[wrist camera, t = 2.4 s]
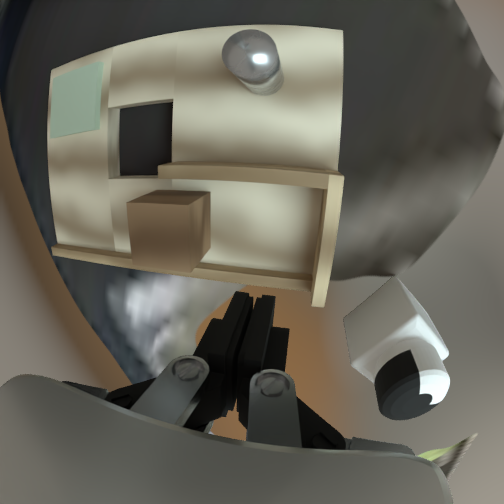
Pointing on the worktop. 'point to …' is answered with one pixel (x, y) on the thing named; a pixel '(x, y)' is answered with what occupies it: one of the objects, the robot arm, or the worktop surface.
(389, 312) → the medicine bottle
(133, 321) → the worktop surface
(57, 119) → the pad
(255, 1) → the worktop surface
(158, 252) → the walnut cube
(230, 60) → the grey metal peg
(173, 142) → the board
